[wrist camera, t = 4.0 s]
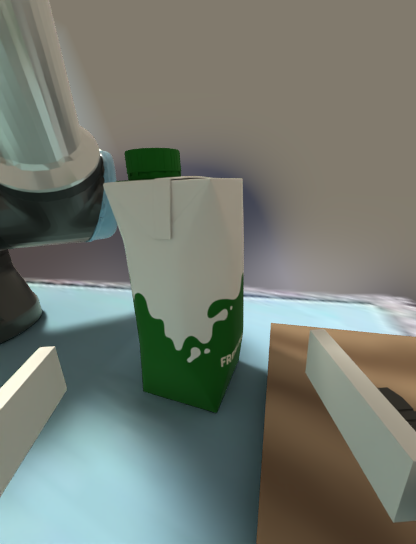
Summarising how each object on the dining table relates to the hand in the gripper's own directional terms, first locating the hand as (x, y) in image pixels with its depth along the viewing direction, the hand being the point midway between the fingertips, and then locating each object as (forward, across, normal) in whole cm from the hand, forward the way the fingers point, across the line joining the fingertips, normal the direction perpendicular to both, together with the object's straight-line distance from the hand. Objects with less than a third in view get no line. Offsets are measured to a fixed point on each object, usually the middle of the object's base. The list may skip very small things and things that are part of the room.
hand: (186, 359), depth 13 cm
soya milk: (+9, 0, -9) cm, 13 cm away
